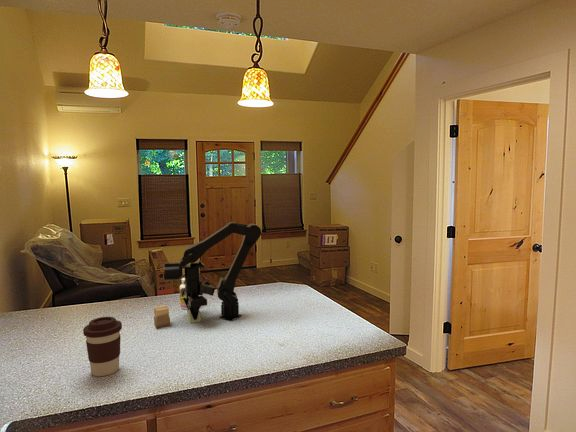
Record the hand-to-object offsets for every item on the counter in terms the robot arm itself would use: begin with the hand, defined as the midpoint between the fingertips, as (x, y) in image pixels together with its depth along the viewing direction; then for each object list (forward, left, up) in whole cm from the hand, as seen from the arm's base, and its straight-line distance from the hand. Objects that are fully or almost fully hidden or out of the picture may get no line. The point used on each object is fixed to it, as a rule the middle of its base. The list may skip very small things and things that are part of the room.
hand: (193, 318), depth 150 cm
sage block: (0, 0, -1) cm, 1 cm away
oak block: (+7, +10, +2) cm, 12 cm away
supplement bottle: (+14, -10, -1) cm, 17 cm away
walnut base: (+7, +10, -1) cm, 12 cm away
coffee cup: (-8, +42, -1) cm, 43 cm away
